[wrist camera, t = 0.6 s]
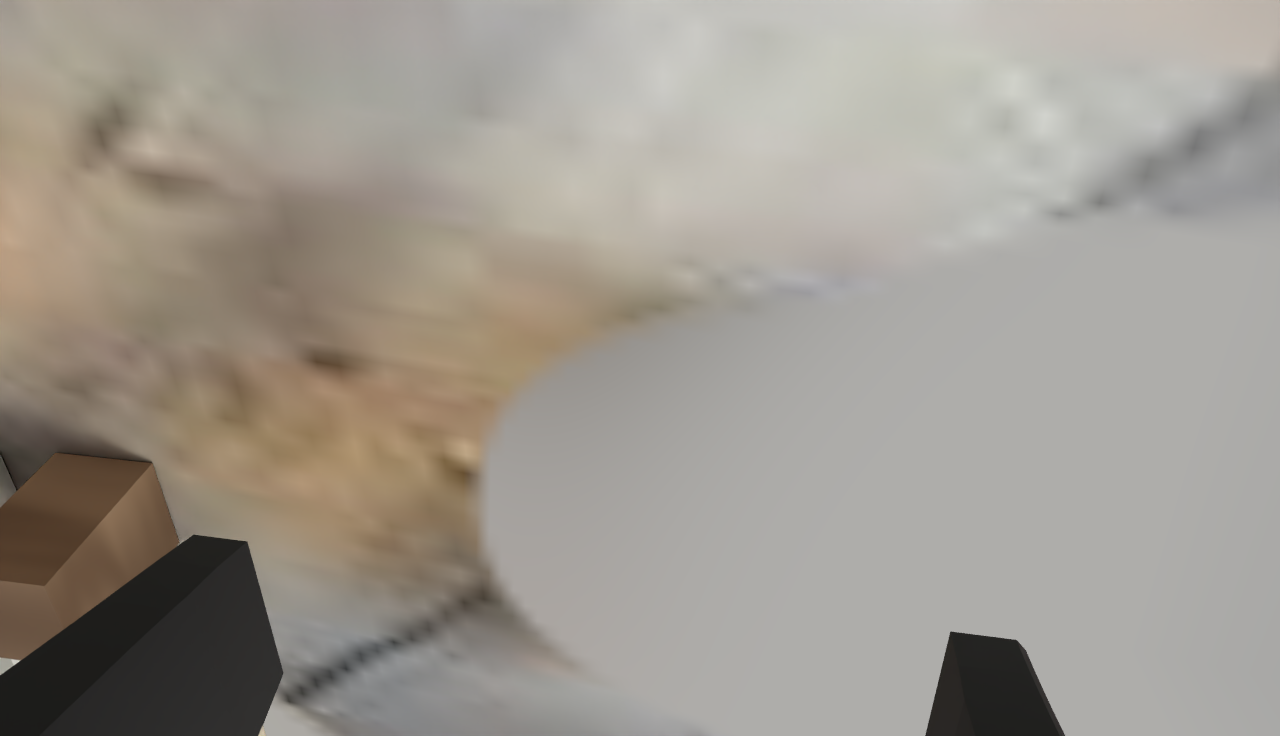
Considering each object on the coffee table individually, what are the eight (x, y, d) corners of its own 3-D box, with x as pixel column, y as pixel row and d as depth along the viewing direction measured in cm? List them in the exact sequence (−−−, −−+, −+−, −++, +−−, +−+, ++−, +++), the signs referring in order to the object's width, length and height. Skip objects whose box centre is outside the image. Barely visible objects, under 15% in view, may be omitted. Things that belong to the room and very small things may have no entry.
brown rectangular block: (179, 542, 26) (81, 669, 23) (87, 531, 26) (-22, 654, 23) (152, 463, 25) (44, 586, 21) (55, 452, 25) (-65, 572, 22)
